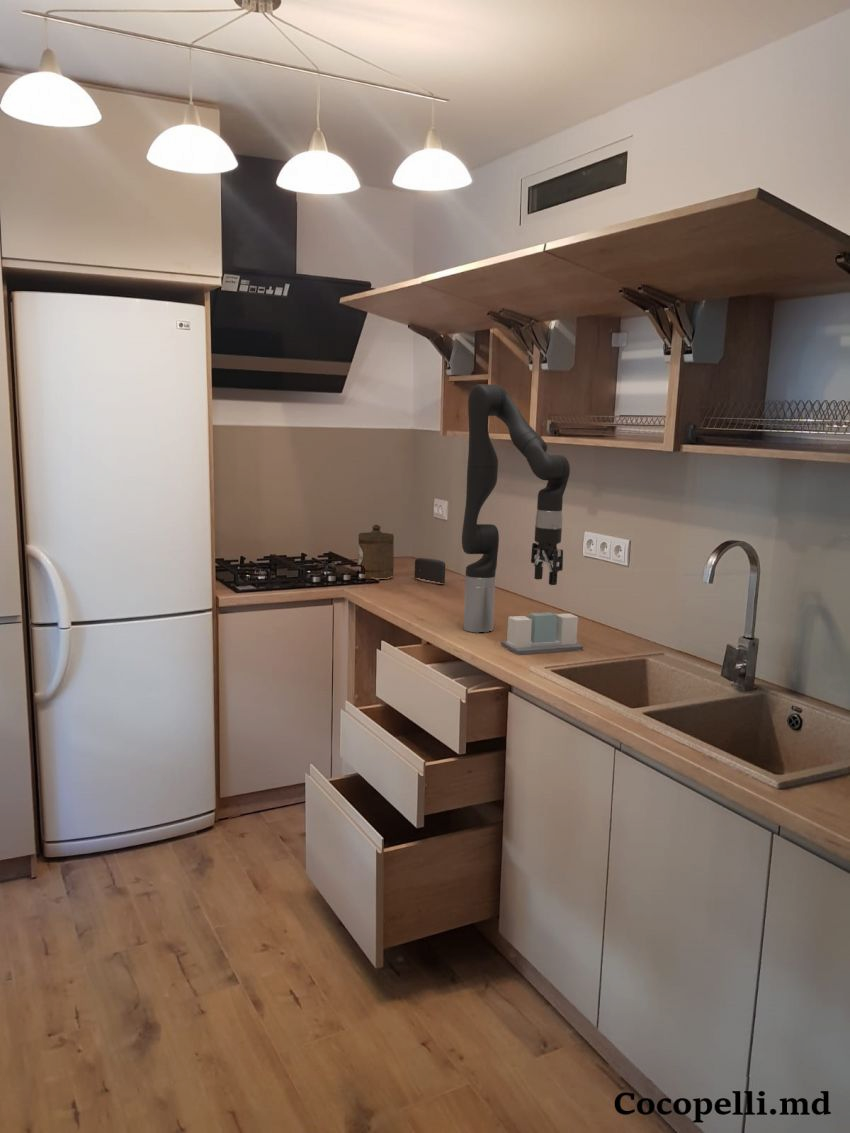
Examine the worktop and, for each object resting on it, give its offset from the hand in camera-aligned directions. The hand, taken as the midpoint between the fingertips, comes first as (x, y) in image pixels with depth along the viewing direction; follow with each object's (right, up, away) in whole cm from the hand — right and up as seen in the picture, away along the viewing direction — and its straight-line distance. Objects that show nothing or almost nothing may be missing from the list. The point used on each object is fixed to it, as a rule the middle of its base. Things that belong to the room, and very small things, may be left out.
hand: (545, 582), depth 242 cm
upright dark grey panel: (-33, -2, +102) cm, 107 cm away
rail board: (-1, -19, +3) cm, 19 cm away
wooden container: (-55, 0, +110) cm, 123 cm away
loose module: (-1, -17, +3) cm, 17 cm away
